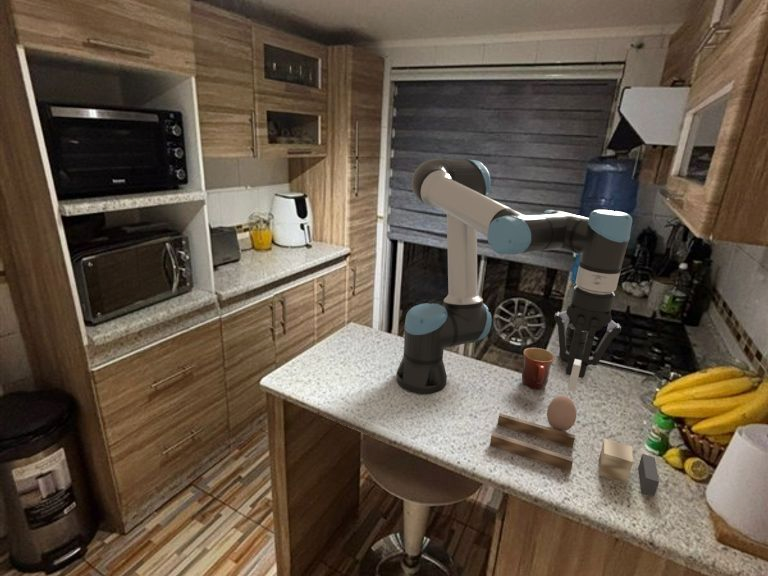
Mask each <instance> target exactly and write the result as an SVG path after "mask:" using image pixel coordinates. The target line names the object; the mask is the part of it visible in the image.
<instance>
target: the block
mask: <svg viewBox="0 0 768 576" xmlns="http://www.w3.org/2000/svg"><path fill="white" fill-rule="evenodd" d="M601 445H602V446H601V450H600V452H599V457H598V476H601V477H603V478H606V479H609V480H613V481H616V482H618V483H622V484H625V485H627V484H628V481H629V478H630V474H631V470H632V467H633V464H634V459H633V458H634V457H633V446H632V445H628V444H625V443H622V442H618V441H614V440H611V439H608V438H603V442H602V444H601Z"/></svg>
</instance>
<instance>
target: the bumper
mask: <svg viewBox="0 0 768 576" xmlns="http://www.w3.org/2000/svg"><path fill="white" fill-rule="evenodd" d="M637 469H638V480H639V487H640V493H641V494H644V495H648V496H650V497H652V498H653V497H655V496H656V493H657V489H658V486H659V483H660V479H659V473H658V467H657V462H656V458H655V457H654V456H651V455H648V454H644V453H641V456H640V460H639V463H638V467H637Z"/></svg>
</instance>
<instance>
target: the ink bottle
mask: <svg viewBox="0 0 768 576" xmlns="http://www.w3.org/2000/svg"><path fill="white" fill-rule="evenodd" d="M574 331H575V327H574V326H573V324H572V323H569V324H568V325H567V329H566V347H567V351H568V352H570V348H571V344H572V340H573V335H574ZM587 334H588V332H587V331H581V335H580V339H579V344H578V348H577V352H576V356H575V359H578V360H582V355H583V351H584V346H585V342H586V338H587ZM558 357H559V359H560V360H562V361H563V362H565V363H567V362H568V361H567V360H566V359H565V358H561V357H560V350H559V352H558Z"/></svg>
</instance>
